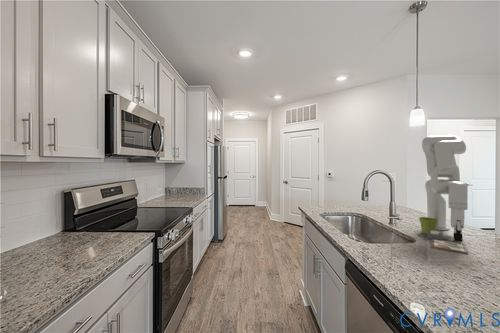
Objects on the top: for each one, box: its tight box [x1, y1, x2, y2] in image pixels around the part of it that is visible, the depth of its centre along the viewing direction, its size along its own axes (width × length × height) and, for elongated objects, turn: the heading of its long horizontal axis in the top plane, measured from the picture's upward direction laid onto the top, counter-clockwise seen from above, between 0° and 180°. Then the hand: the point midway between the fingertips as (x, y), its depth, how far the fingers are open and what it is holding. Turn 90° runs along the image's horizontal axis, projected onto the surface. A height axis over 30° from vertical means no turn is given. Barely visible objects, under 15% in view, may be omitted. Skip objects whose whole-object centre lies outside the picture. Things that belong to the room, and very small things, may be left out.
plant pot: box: [418, 216, 438, 235], centre depth 136 cm, size 9×9×9 cm
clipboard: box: [431, 239, 469, 255], centre depth 114 cm, size 16×13×1 cm
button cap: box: [430, 230, 441, 235], centre depth 126 cm, size 4×4×2 cm
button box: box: [426, 231, 444, 240], centre depth 126 cm, size 7×7×3 cm
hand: (457, 239), depth 121 cm, fingers closed on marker, 3 cm apart
